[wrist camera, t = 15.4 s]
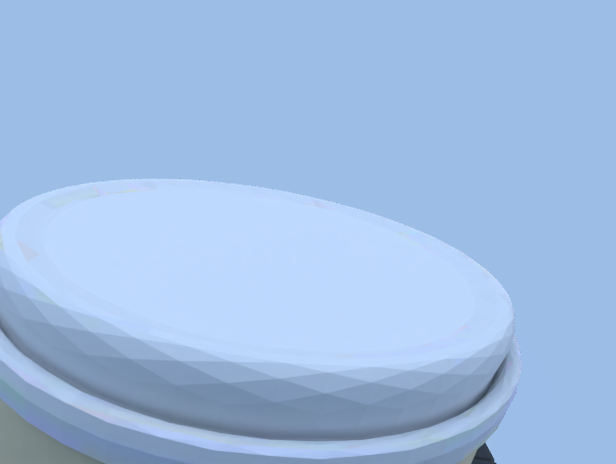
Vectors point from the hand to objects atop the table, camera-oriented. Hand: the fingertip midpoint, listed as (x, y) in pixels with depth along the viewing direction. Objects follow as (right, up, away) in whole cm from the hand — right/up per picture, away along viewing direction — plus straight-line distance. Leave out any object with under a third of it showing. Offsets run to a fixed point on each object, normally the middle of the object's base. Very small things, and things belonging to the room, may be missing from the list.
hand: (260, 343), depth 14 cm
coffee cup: (-1, -8, -3) cm, 8 cm away
